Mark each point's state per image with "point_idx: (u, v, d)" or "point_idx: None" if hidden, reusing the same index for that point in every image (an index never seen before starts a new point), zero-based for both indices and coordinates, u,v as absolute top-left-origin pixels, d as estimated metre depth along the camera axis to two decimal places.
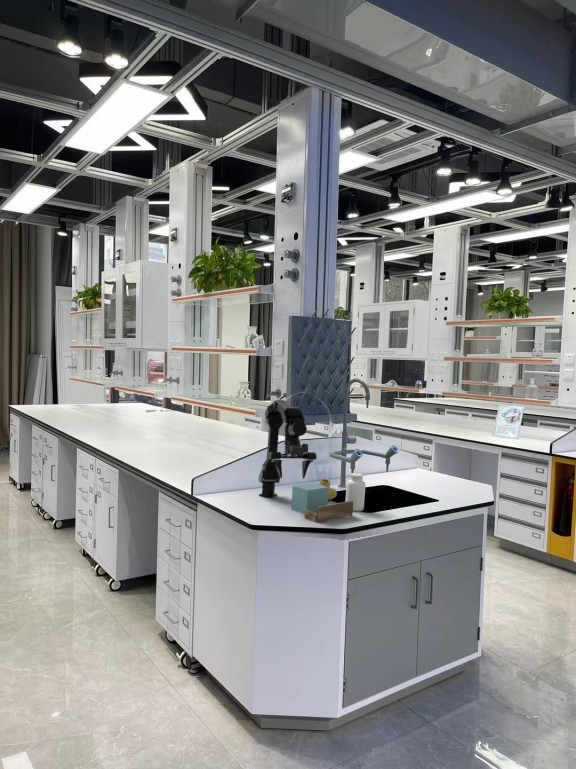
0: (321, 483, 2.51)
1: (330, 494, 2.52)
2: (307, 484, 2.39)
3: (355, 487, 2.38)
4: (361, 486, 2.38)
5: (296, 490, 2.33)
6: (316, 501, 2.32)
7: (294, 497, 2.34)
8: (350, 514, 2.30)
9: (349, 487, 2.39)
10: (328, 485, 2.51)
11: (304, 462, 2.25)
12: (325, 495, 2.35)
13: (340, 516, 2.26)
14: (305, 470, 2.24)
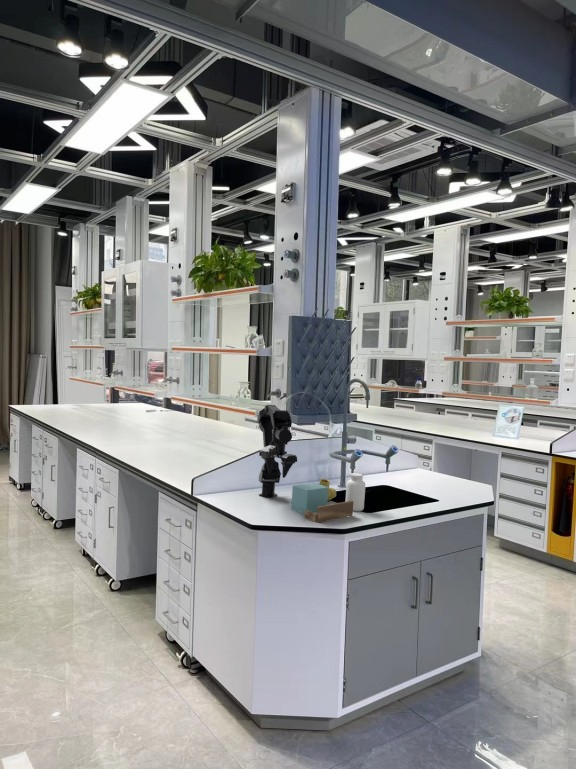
0: (320, 483, 2.51)
1: (329, 494, 2.52)
2: (307, 484, 2.39)
3: (355, 487, 2.38)
4: (361, 486, 2.38)
5: (296, 490, 2.33)
6: (316, 501, 2.32)
7: (294, 497, 2.34)
8: (350, 514, 2.30)
9: (349, 487, 2.39)
10: (327, 485, 2.50)
11: None
12: (325, 495, 2.35)
13: (340, 516, 2.26)
14: (283, 470, 2.39)
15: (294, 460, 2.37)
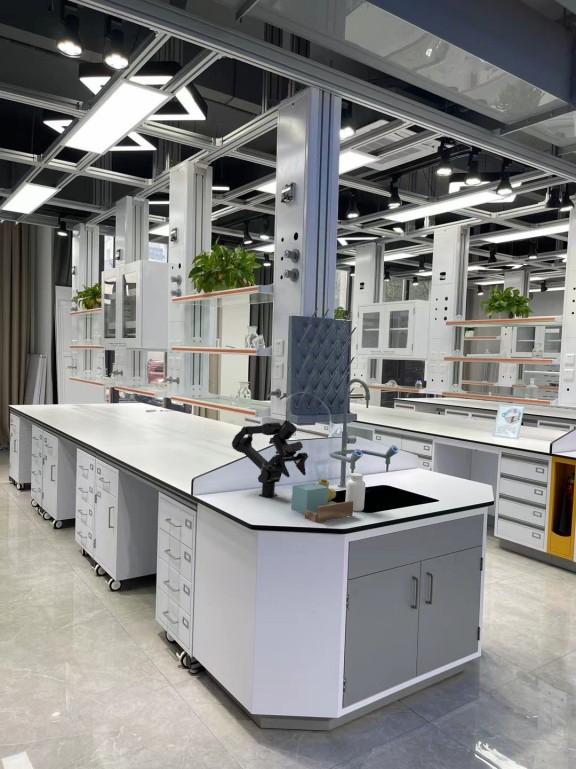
0: (319, 483, 2.50)
1: (329, 495, 2.51)
2: (307, 484, 2.39)
3: (355, 487, 2.38)
4: (361, 486, 2.38)
5: (296, 490, 2.33)
6: (316, 501, 2.32)
7: (294, 497, 2.34)
8: (350, 514, 2.30)
9: (349, 487, 2.39)
10: (326, 486, 2.50)
11: (299, 462, 2.48)
12: (325, 495, 2.35)
13: (340, 516, 2.26)
14: (304, 467, 2.46)
15: None
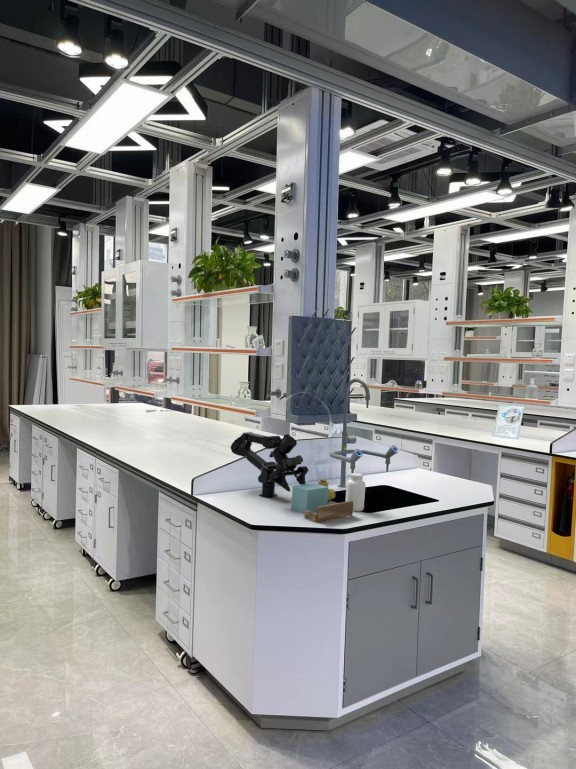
0: (319, 484, 2.50)
1: (328, 495, 2.51)
2: (307, 484, 2.39)
3: (355, 487, 2.38)
4: (361, 486, 2.38)
5: (296, 490, 2.33)
6: (316, 501, 2.32)
7: (294, 497, 2.34)
8: (350, 514, 2.30)
9: (349, 487, 2.39)
10: (326, 486, 2.49)
11: (300, 476, 2.48)
12: (325, 495, 2.35)
13: (340, 516, 2.26)
14: (304, 481, 2.46)
15: None
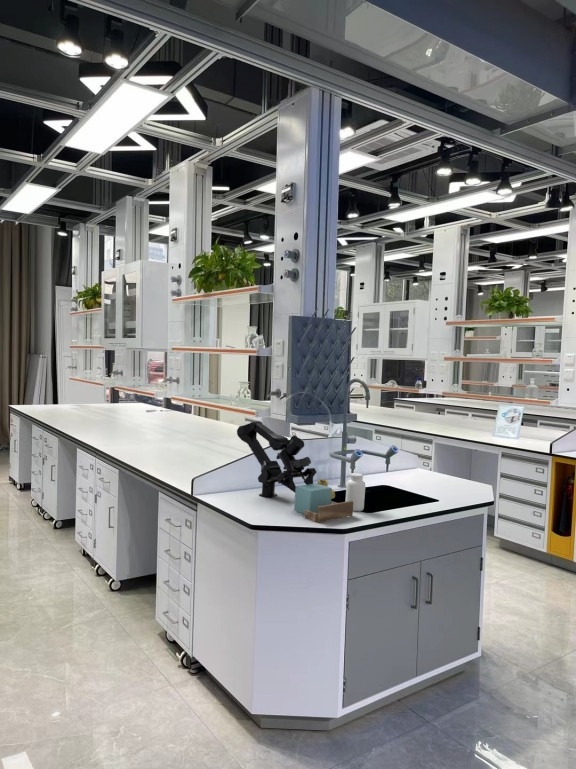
0: None
1: None
2: (310, 485, 2.38)
3: (355, 487, 2.38)
4: (361, 486, 2.38)
5: (299, 491, 2.32)
6: (320, 502, 2.31)
7: (297, 498, 2.33)
8: (350, 514, 2.30)
9: (349, 487, 2.39)
10: None
11: (307, 478, 2.44)
12: (328, 495, 2.34)
13: (340, 516, 2.26)
14: (312, 483, 2.42)
15: None
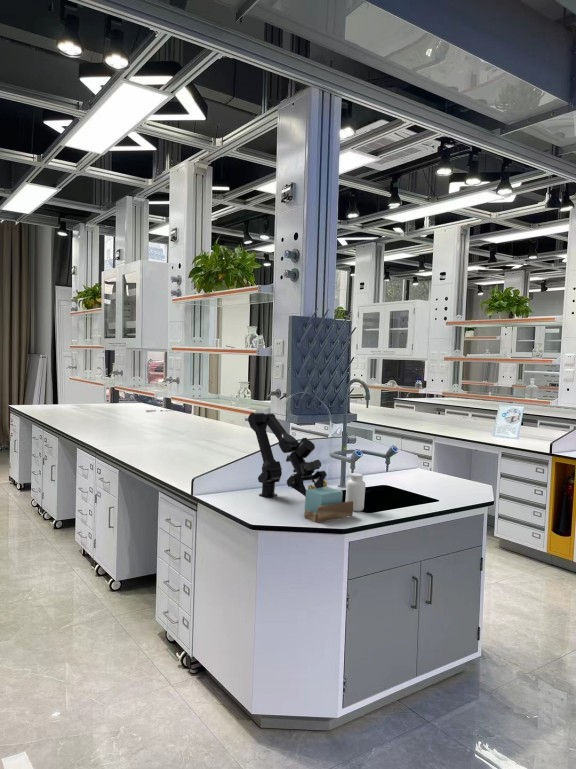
0: None
1: None
2: (321, 488, 2.33)
3: (355, 487, 2.38)
4: (361, 486, 2.38)
5: (310, 494, 2.27)
6: None
7: (307, 501, 2.28)
8: (350, 514, 2.30)
9: (349, 487, 2.39)
10: (324, 486, 2.48)
11: (318, 481, 2.40)
12: (339, 499, 2.29)
13: (340, 516, 2.26)
14: (322, 486, 2.38)
15: None
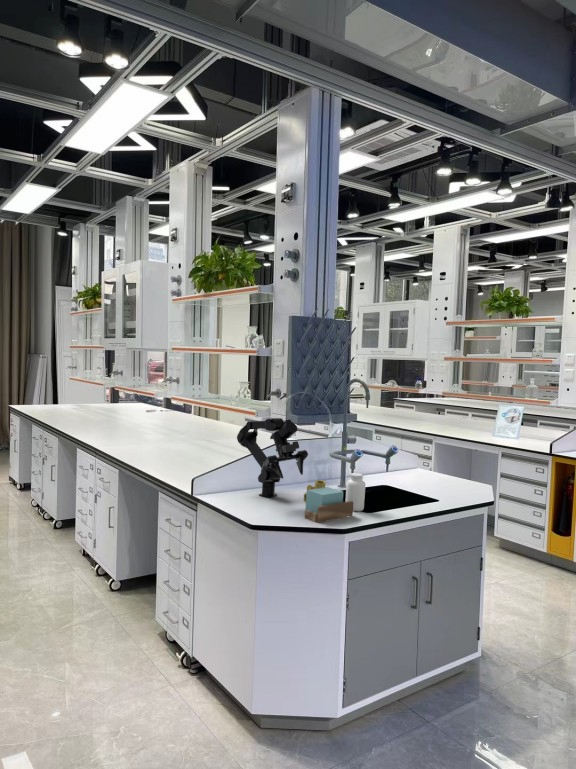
0: (315, 484, 2.48)
1: None
2: (321, 488, 2.32)
3: (355, 487, 2.38)
4: (361, 486, 2.38)
5: (310, 495, 2.27)
6: None
7: (308, 502, 2.28)
8: (350, 514, 2.30)
9: (349, 487, 2.39)
10: (322, 486, 2.47)
11: (298, 461, 2.47)
12: (340, 499, 2.29)
13: (340, 516, 2.26)
14: (301, 467, 2.45)
15: None
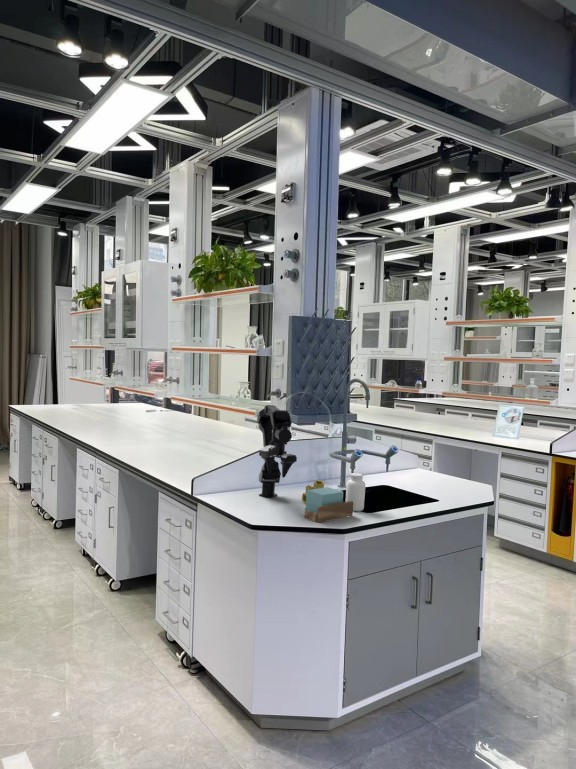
0: (314, 484, 2.47)
1: None
2: (321, 488, 2.32)
3: (355, 487, 2.38)
4: (361, 486, 2.38)
5: (310, 495, 2.27)
6: None
7: (308, 502, 2.28)
8: (350, 514, 2.30)
9: (349, 487, 2.39)
10: (321, 487, 2.46)
11: None
12: (340, 499, 2.29)
13: (340, 516, 2.26)
14: (282, 470, 2.39)
15: (293, 460, 2.37)
